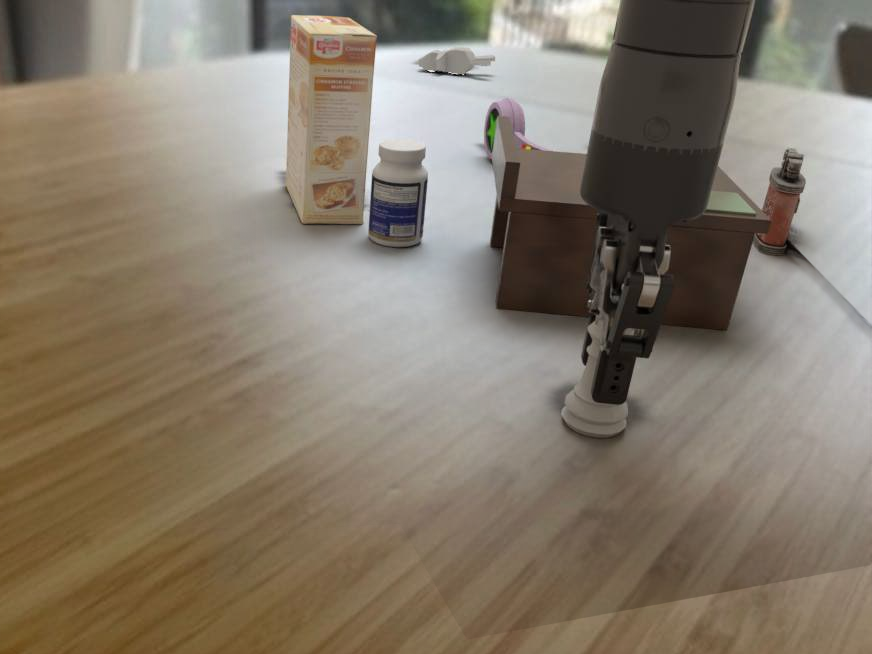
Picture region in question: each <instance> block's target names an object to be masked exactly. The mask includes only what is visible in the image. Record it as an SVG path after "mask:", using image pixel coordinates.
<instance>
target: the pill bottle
mask: <svg viewBox="0 0 872 654" xmlns="http://www.w3.org/2000/svg"><path fill="white" fill-rule="evenodd" d="M426 150H427V146H426V144H425V143H423V142H422V141H418V140H414V139H407V138H390V139H384V140H382V141H380V142H379V144H378V156H379V158H380V160H379V162H378V163H376V165H374V167H373V169H372V172H371V185H370V186H371V187H370V200H369V215H368V231H367V232H368V233H367V234H368V238H370V240H371V241H373V243H376V244H378V245H380V246H385V247H391V248H407V247H413V246H415V245H418V244H419V243H420V242H421V241H422V239H423V236H424V227H425V214H426V203H427V191H428V183H429V181H428V180H429V173H428V170H427V169H426V166H424V165H423V161H424V159H426V153H427V151H426Z"/></svg>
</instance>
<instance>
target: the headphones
mask: <svg viewBox="0 0 872 654" xmlns="http://www.w3.org/2000/svg"><path fill="white" fill-rule="evenodd" d="M497 116H505V117H510V121H511V125H512V130H513V134H514V138H515V142H516V146H517V148H519V149H531V150H544V151H553V150H551V149H548V148H546V147H543V146H541V145H539V144H536V143H534V142H533V141H531V140H529V139H528V138H527V137H526V118H525V112H524V109H523V108H522V106H521V104H520V103H519V102H517V101H516V100H515V99H514V98H508V97H507V98H502V99H501V100H498V101H494V102H492V103H491V104H490V105H489V107H488V109H487V113H486V116H485V120H484V127H483V141H484V142H483V145H484V150H485V153H486V156H487V158H488V159H490V160H492V152H493V145H494V138H495V130H496V123H497Z"/></svg>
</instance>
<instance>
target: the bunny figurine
mask: <svg viewBox="0 0 872 654" xmlns="http://www.w3.org/2000/svg"><path fill="white" fill-rule="evenodd" d="M492 62H496V56H495V55H494V54H487V55H479V56H476V55H475V54H474V51H472V49H470V48H469V47H464V46H462V47H461V46H458V47H453V48H450V49H446V50H442V51H441V50H439V49H433V50H432V51H430V52H428V53H427V54H425V55H424V56H422V57H419V58H418V68H422V69H423V70H424V71H425V70H433V71H437V72H441V71H442V73H446V72H451V73H458V74H457V75H460V74H465V73H466V72H467V73H469V72H470V71H471V70H473V69H474V67H475V66H479V67H491V64H492ZM467 73H466V74H467ZM466 74H465V75H466Z"/></svg>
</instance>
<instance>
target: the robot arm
mask: <svg viewBox="0 0 872 654" xmlns="http://www.w3.org/2000/svg"><path fill="white" fill-rule="evenodd" d="M755 2H756V0H619V6H618V11H617V15H616V21H615V26H614V31H613V36H612V40H613V41H612V42H611V46H610V51H609V54H608V57H607V61H606V63H605V66H604V70H603V72H602V75H601V79H600V83H599V88H598V91H597V97H596V103H595V108H594V114H593V117H592V118H593V119H592V125H591V129H590V130H591V131H590V134H589V135H590V136H589V140H588V146H587V150H586V154H587V156H586V161H585V166H584V172H583V177H582V182H581V188H580V194H581V197H582V199H583V200H584V201H585V202H586V203H587V204H588V205H589V206H591V207H593V208H594V209H596V210H599V211H598V213H597V214H596V228H595V235H594V241H593V248H592V255H591V261H590V268H589V275H588V281H587V282H586V287H585V288H586V289H587V294H590V298H589V300H588V301H587V307H588V312H591V313H594V315H593V314H590V316H589V317H588V321H587V326H586V330H585V335H584V340H583V345H582V348H581V349H582V350H581V355H580V358H581V362H582V365H583V366H584V367H586V364H587V361H588V356H589V354H588V352H587V347H588V346H590V345H591V343H592V338H591V336H590V334H589V332H588V326H589V325H590V324H592V323H593V322H594V321H595V319H596V315H599V314H600V312H601V313H603V315H604V321H603V328H602V335H601V338H600V340H599V345H600V350H599V355H598V360H597V364H596V369H595V373H594V378H593V383H592V387H591V395H592V399H593V400H594V401H595V402H597V403H604V404H614V405H621V404H623V403H624V402H626V401H627V398H628V395H629V390H630V386H631V382H632V379H633V373H634V370H635V366H636V361H637V359H649V358H650V356H651V354H652V353H653V350H654V345H655V344H656V343H655V342H656V340H657V336H658V335H659V331H660V329H661V326H662V324H661V323H662V320H663V317H664V314H665V312H666V309H667V306H668V303H669V300H670V297H671V294H672V291H673V290H674V287H675V282H674V276H673V275H665V274H664V273H665V272H666V271H667V270H668V267H669V261H670V254H671V247H670V245H665V244H666V238H667V234H666V231H667V230H668V227H669V226H671V225H672V224H674V223H677V222H680V221H683V222H686V221H690V220H694V219H696V218H698V217H700V216H701V215H702V214H703V213H704V212H705V211H706V209H707V205H708V201H709V198H710V194H711V190H712V186H713V182H714V178H715V174H716V170H717V167H718V166H719V162H720V159H721V156H722V151H723V147H724V143H725V139H726V135H727V131H728V128H729V125H730V120H731V117H732V113H733V108H734V104H735V100H736V95H737V89H738V79H739V72H740V64H741V60H742V54H741V53H743V50H744V46H745V43H746V39H747V34H748V31H749V27H750V24H751V20H752V17H753V11H754V8H755ZM602 269H603V270H602ZM627 328H634V334H633V335H626V334H623V332H624V330H625V329H627Z"/></svg>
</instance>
